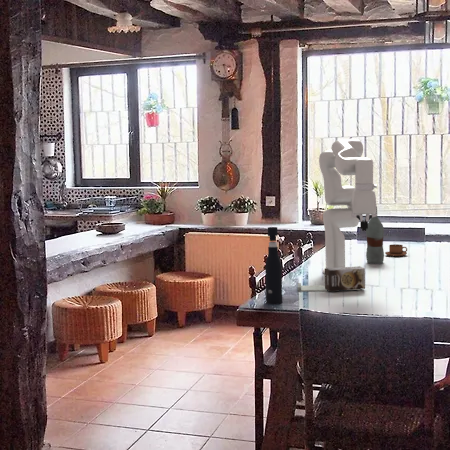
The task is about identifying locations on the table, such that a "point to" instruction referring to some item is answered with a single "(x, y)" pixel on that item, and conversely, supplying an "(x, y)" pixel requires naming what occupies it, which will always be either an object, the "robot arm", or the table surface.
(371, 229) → the vodka
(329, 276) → the coffee box
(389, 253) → the cup and saucer
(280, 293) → the wine bottle
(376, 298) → the table surface
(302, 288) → the pale green rectangular board
